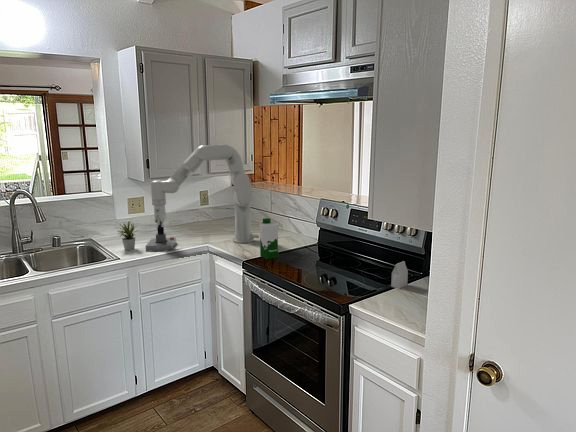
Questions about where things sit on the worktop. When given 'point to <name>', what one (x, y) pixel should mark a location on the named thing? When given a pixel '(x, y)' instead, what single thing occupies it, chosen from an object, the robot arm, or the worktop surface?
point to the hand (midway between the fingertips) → (160, 233)
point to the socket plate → (161, 245)
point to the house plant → (128, 236)
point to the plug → (161, 238)
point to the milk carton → (268, 239)
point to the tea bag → (399, 275)
